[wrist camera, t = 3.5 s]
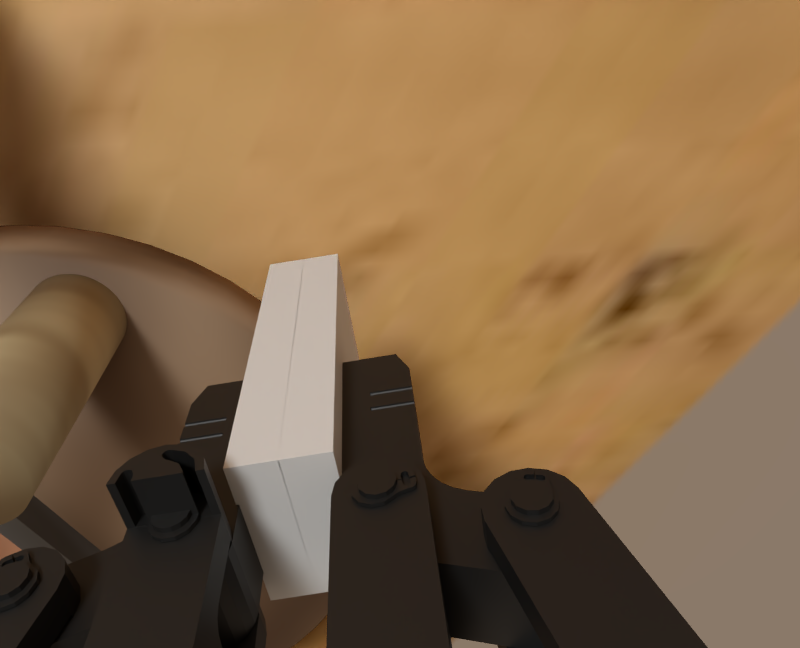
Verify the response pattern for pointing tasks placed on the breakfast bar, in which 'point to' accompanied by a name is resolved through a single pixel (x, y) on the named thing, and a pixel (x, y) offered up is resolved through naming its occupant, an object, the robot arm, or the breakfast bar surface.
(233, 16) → the breakfast bar surface
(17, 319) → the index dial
